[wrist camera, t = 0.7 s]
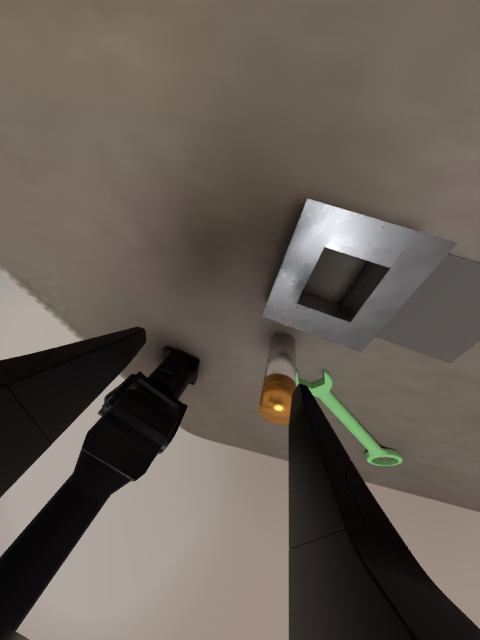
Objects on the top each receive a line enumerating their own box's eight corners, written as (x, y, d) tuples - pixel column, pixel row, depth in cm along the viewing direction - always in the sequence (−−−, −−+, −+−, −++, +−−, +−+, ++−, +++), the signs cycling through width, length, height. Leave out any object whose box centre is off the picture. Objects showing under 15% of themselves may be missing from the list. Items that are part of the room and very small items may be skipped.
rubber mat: (447, 360, 19) (450, 362, 18) (364, 331, 19) (366, 333, 19) (547, 284, 14) (553, 285, 14) (432, 249, 15) (435, 250, 14)
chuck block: (349, 330, 20) (360, 352, 17) (266, 300, 21) (261, 316, 17) (419, 237, 14) (457, 243, 11) (304, 203, 15) (307, 198, 12)
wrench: (316, 354, 24) (284, 369, 27) (317, 364, 22) (284, 379, 25) (406, 457, 28) (371, 461, 31) (413, 472, 27) (376, 475, 29)
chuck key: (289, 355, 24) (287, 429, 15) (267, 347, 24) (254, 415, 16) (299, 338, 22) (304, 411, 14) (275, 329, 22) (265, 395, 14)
